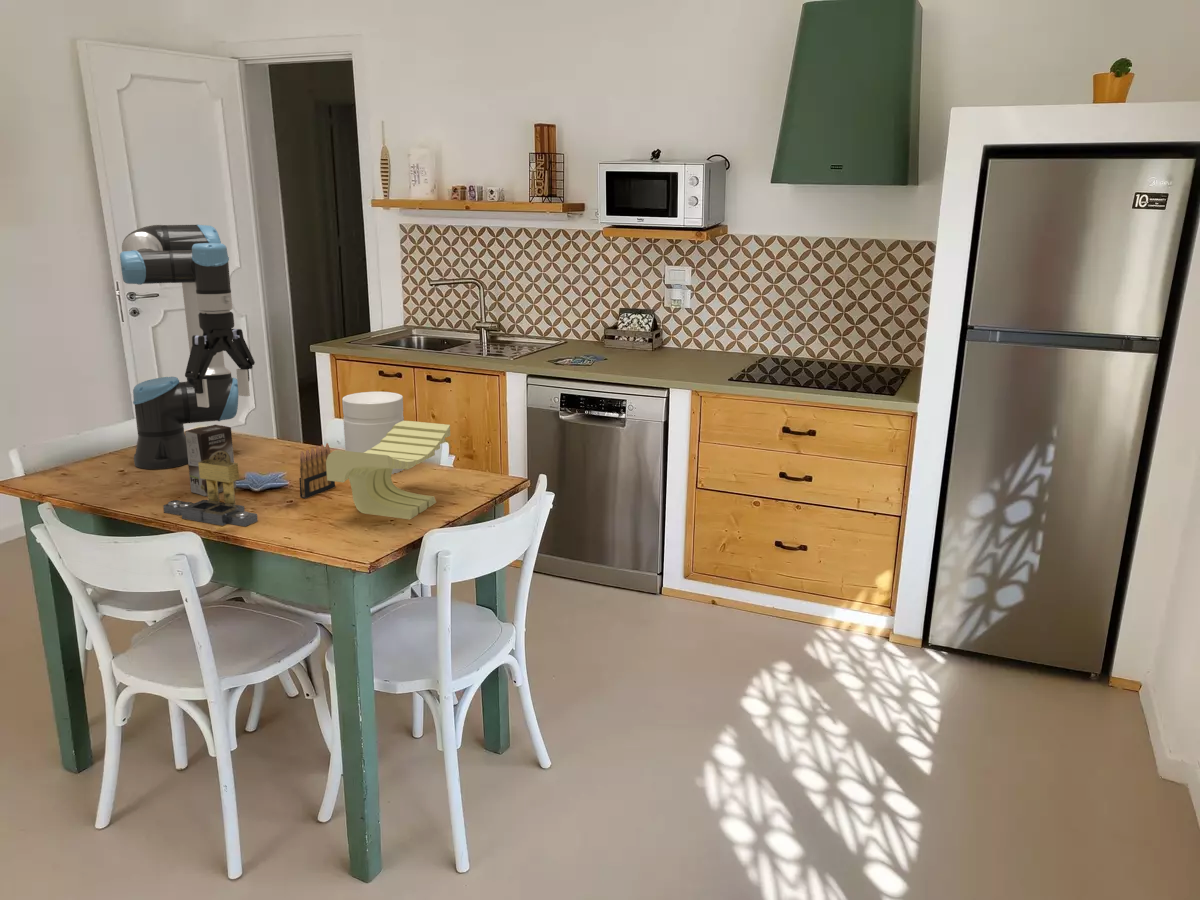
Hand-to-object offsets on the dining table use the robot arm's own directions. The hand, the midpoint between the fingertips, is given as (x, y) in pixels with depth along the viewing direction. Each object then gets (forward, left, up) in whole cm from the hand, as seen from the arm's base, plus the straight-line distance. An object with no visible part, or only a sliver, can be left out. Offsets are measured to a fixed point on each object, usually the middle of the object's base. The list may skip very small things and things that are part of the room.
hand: (224, 401), depth 215 cm
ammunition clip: (+14, +14, -25) cm, 32 cm away
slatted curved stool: (+38, +12, -25) cm, 47 cm away
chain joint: (+4, -11, -25) cm, 28 cm away
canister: (+15, +38, -25) cm, 48 cm away
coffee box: (-11, +5, -25) cm, 28 cm away
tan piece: (-1, -3, -25) cm, 25 cm away
